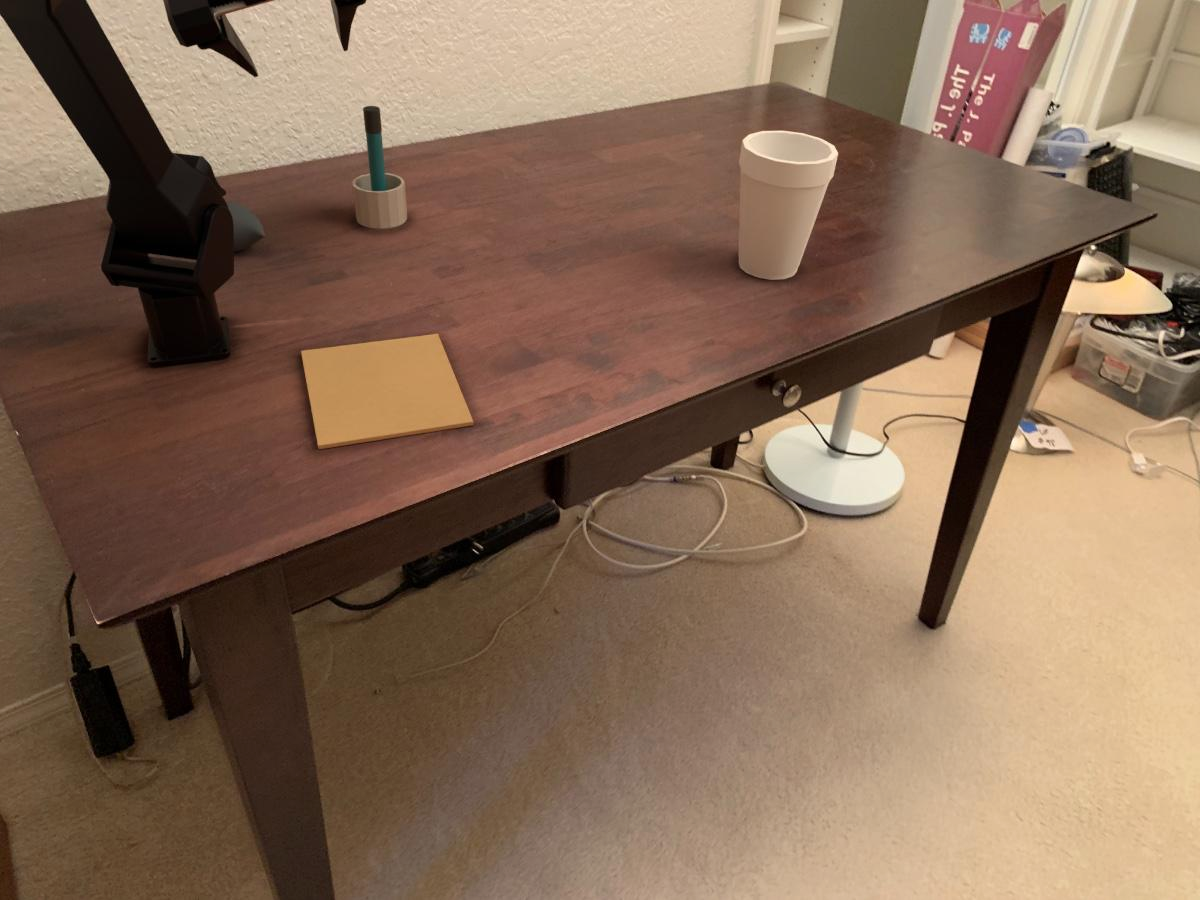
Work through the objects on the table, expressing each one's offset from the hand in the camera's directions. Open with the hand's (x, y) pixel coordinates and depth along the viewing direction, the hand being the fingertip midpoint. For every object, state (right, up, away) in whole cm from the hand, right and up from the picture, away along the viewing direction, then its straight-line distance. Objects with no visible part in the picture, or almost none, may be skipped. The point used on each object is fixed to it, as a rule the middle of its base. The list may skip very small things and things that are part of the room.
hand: (300, 60), depth 92 cm
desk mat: (+12, -34, -16) cm, 39 cm away
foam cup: (+48, -19, +7) cm, 52 cm away
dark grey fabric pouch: (-13, -18, +3) cm, 22 cm away
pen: (+6, -13, +10) cm, 18 cm away
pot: (+6, -14, +10) cm, 18 cm away
